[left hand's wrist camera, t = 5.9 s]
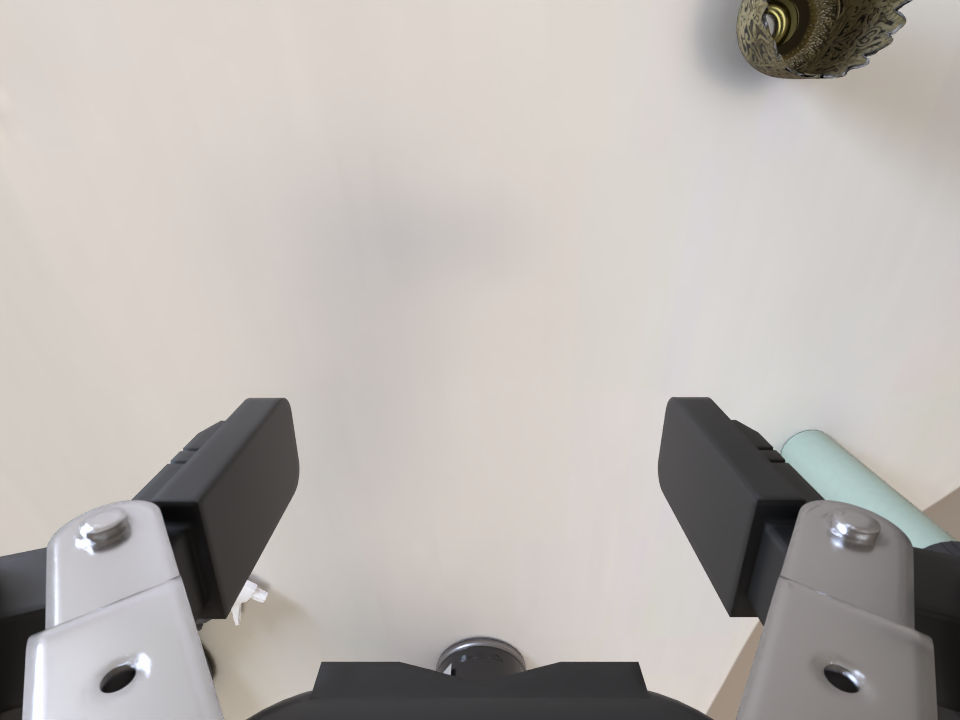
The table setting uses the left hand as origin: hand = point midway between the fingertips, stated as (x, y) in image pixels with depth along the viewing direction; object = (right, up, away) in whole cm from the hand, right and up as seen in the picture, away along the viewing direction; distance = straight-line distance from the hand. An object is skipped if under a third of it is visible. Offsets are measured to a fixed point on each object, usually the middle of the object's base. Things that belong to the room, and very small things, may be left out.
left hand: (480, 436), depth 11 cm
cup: (+18, +23, +22) cm, 37 cm away
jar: (+28, -6, +34) cm, 45 cm away
